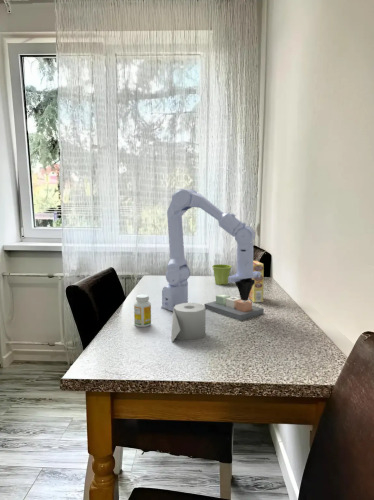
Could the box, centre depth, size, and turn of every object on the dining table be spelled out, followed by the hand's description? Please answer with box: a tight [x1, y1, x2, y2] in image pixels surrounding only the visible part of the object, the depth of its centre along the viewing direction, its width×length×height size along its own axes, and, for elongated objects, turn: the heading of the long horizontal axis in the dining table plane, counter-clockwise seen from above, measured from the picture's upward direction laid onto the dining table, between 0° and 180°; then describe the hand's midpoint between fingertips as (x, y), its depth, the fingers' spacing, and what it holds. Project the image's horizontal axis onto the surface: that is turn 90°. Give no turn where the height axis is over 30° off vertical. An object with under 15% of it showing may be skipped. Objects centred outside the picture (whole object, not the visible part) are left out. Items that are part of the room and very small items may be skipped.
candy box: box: [248, 260, 265, 303], centre depth 146 cm, size 9×4×15 cm, turn 8°
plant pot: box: [211, 263, 233, 286], centre depth 175 cm, size 9×9×9 cm
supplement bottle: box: [133, 293, 152, 328], centre depth 117 cm, size 5×5×10 cm
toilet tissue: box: [170, 302, 206, 343], centre depth 106 cm, size 9×13×9 cm
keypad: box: [203, 300, 265, 321], centre depth 132 cm, size 12×18×2 cm, turn 39°
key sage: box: [215, 293, 231, 306], centre depth 135 cm, size 4×4×3 cm
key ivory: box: [226, 296, 241, 309], centre depth 131 cm, size 4×4×3 cm
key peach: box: [236, 300, 253, 312], centre depth 127 cm, size 4×4×3 cm
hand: (244, 300), depth 127 cm, fingers closed
